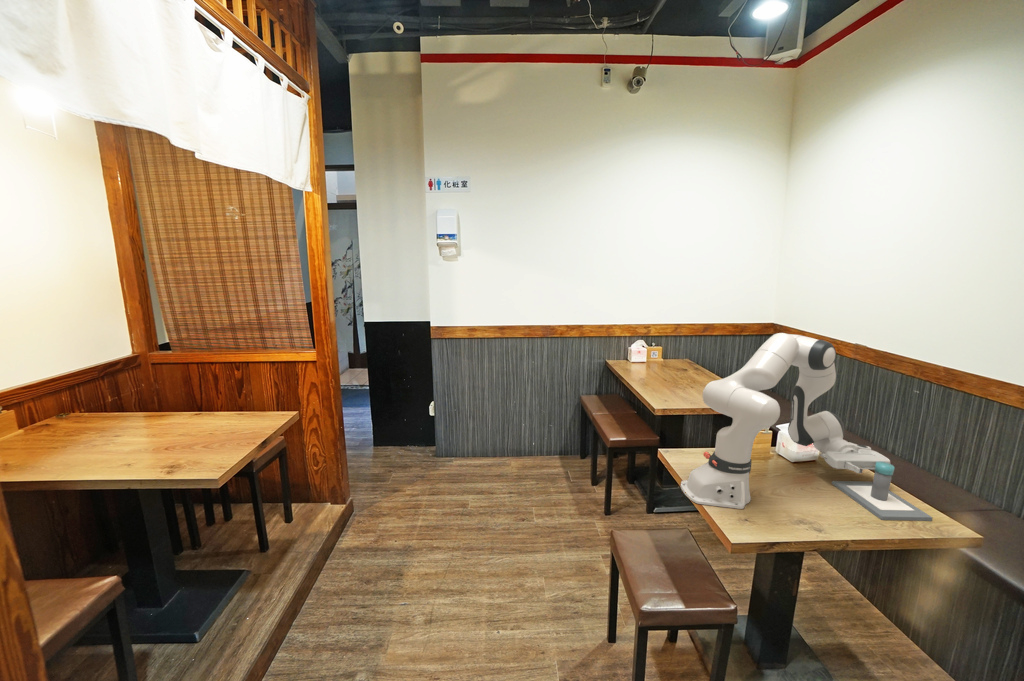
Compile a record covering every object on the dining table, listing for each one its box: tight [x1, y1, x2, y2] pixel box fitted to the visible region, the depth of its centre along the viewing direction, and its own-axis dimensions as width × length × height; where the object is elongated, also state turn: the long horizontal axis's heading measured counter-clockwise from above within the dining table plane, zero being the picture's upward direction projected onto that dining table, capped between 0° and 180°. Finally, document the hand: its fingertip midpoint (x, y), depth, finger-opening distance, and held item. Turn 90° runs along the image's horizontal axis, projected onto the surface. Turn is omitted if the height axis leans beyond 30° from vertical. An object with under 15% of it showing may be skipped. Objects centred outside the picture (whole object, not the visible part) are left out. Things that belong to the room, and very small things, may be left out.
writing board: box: [831, 480, 934, 522], centre depth 148 cm, size 16×22×1 cm
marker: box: [871, 462, 896, 501], centre depth 147 cm, size 5×5×12 cm
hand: (874, 471), depth 150 cm, fingers open, 8 cm apart
